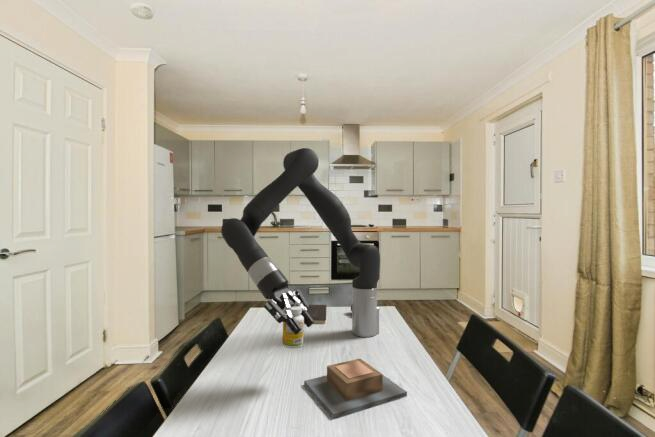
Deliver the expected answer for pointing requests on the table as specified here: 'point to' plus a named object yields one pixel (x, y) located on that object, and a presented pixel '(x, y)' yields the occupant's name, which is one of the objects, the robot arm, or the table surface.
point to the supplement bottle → (288, 336)
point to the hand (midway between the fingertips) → (305, 328)
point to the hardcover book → (317, 313)
